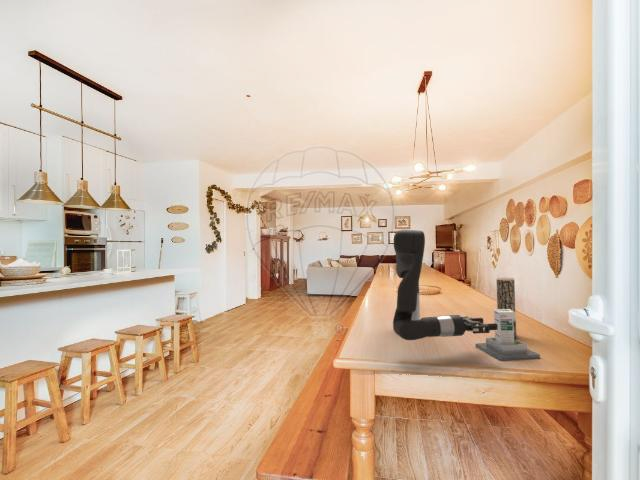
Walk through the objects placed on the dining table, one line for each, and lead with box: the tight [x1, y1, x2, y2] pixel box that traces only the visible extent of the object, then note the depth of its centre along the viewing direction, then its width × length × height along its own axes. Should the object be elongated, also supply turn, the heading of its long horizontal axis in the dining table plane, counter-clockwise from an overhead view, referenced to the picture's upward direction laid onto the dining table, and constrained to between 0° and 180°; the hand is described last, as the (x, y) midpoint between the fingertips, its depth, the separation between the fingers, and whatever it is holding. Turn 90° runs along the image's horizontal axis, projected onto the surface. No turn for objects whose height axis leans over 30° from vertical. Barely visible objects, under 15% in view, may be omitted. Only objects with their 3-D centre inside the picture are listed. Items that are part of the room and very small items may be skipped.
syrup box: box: [493, 308, 518, 345], centre depth 120 cm, size 6×6×14 cm
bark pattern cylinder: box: [495, 276, 516, 313], centre depth 140 cm, size 7×7×25 cm
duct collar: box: [475, 336, 541, 362], centre depth 120 cm, size 15×15×4 cm
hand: (489, 323), depth 119 cm, fingers open, 8 cm apart
